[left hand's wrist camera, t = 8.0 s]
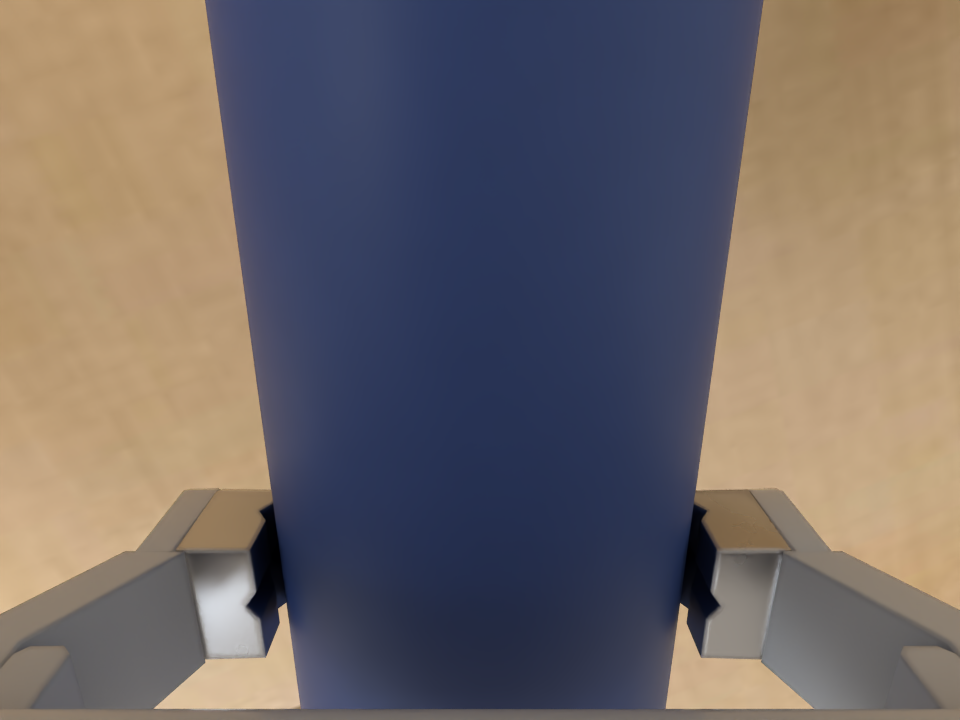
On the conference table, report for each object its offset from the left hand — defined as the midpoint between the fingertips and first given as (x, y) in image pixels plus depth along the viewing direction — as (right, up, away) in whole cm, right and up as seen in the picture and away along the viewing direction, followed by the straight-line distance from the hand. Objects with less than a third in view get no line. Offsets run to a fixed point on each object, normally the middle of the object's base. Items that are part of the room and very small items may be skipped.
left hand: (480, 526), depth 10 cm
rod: (0, +9, 0) cm, 9 cm away
